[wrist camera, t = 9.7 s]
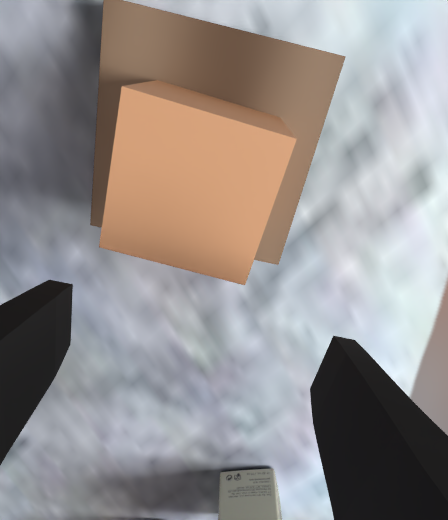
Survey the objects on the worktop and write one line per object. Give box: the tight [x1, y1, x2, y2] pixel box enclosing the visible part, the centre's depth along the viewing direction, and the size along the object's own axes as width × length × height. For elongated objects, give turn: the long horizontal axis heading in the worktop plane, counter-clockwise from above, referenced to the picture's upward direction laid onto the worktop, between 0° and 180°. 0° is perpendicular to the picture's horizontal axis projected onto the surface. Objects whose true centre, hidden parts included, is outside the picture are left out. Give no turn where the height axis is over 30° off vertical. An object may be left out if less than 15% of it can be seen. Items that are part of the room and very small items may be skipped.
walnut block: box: [90, 0, 345, 265], centre depth 17 cm, size 9×9×3 cm
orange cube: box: [99, 80, 297, 285], centre depth 14 cm, size 5×5×5 cm
